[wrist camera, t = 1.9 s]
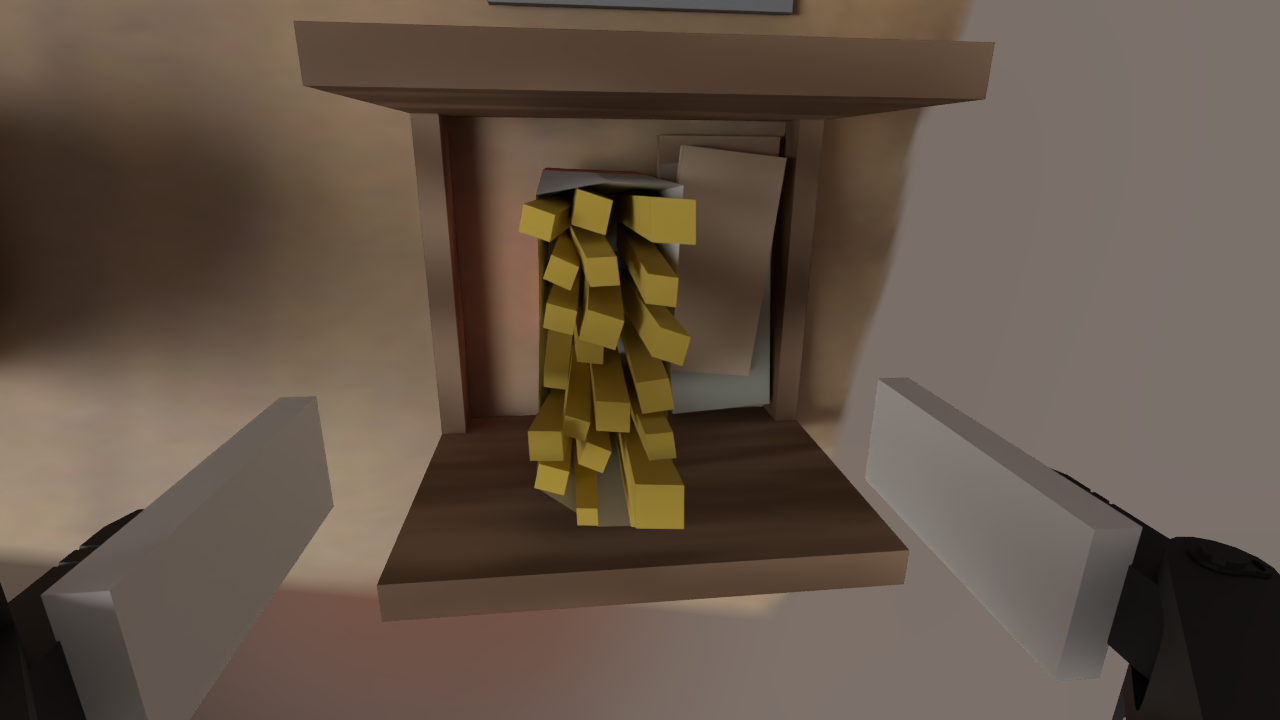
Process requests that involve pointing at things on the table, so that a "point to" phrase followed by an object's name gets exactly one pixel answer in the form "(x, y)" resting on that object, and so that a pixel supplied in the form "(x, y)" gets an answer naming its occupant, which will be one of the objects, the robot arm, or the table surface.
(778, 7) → the slate mat
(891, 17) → the table surface
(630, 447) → the french fries container
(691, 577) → the offcut rack
